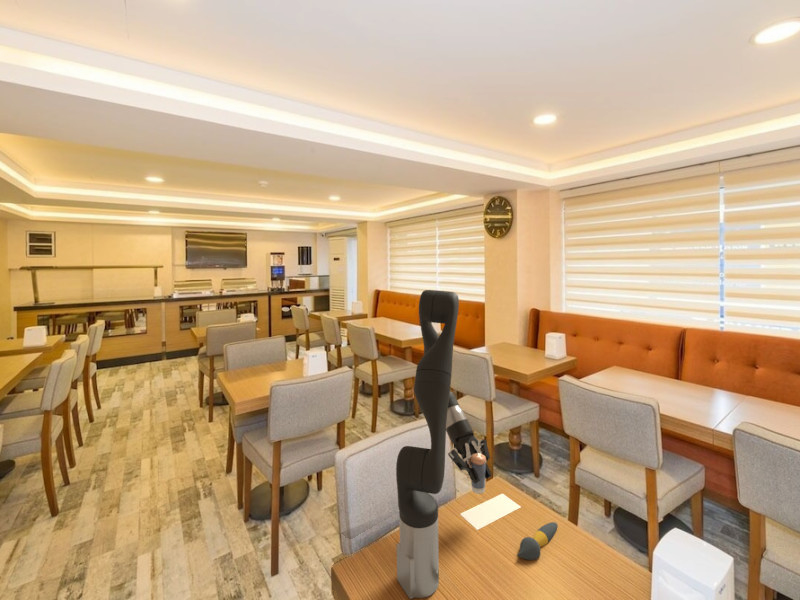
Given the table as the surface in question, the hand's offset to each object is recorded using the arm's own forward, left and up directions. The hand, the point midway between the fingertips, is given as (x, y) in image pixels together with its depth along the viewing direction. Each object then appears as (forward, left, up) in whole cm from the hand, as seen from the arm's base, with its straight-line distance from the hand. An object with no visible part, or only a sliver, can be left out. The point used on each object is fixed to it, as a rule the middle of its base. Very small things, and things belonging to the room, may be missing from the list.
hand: (483, 479), depth 102 cm
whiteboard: (+5, +2, -14) cm, 15 cm away
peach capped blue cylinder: (0, +2, -4) cm, 5 cm away
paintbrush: (+8, -13, -15) cm, 21 cm away
